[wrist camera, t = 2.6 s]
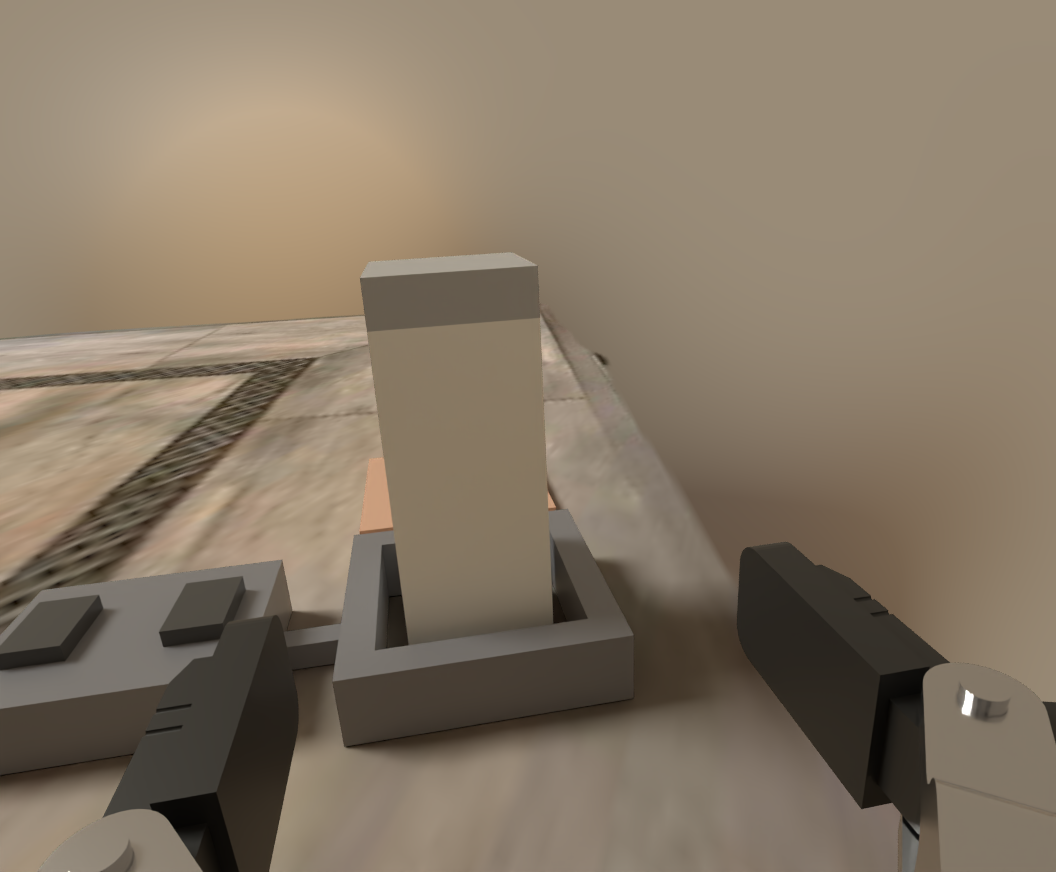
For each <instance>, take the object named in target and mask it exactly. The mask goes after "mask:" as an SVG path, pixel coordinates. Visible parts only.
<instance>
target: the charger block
mask: <svg viewBox="0 0 1056 872" xmlns="http://www.w3.org/2000/svg"><path fill="white" fill-rule="evenodd" d="M360 282H361V290H362V297H363V304H364V312H365V320H366V327H367V335H368V342H369V350H370V358H371V365H372V373H373V380H374V388H375V395H376V403H377V410H378V418H379V425H380V433H381V440H382V448H383V455H384V463H385V470H386V478H387V485H388V493H389V500H390V508H391V516H392V523H393V531H394V538H395V546H396V553H397V561H398V568H399V576H400V583H401V591H402V598H403V606H404V613H405V621H406V628H407V636H408V643H409V645H415V644H422V643H428V642H435V641H442V640H449V639H455V638H462V637H469V636H476V635H482V634H489V633H496V632H502V631H509V630H516V629H523V628H529V627H536V626H543V625H550V624H553V604H552V581H551V558H550V535H549V513H548V490H547V467H546V444H545V421H544V399H543V376H542V353H541V330H540V308H539V285H538V266H537V265H535V264H533V263H531V262H530V261H528V260H526V259H524V258H522V257H520V256H518V255H516V254H514V253H512V252H511V253H495V254H480V255H465V256H450V257H435V258H420V259H405V260H391V261H375V262H369V263H368V264H367V266H366V268H365V270H364V272H363V273H362V275H361V277H360Z"/></svg>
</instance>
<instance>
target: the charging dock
mask: <svg viewBox="0 0 1056 872" xmlns="http://www.w3.org/2000/svg"><path fill="white" fill-rule="evenodd" d="M548 513H549V535H550V558H551V581H552V583H553V586H554V589H555V591H556V594H557V596H558V599H559V602H560V604H561V607H562V609H563V612H564V615H565V617H566V620H567V622H563V623H556V624H550V625H543V626H536V627H529V628H523V629H516V630H509V631H502V632H496V633H489V634H482V635H476V636H469V637H462V638H455V639H449V640H442V641H435V642H428V643H422V644H415V645H408V646H401V647H395V648H388V649H387V633H388V607H389V597H390V596H397V595H402V591H401V583H400V576H399V568H398V561H397V553H396V546H395V538H394V531H393V530H392V531H384V532H376V533H368V534H360V535H354V539H353V546H352V553H351V560H350V566H349V573H348V580H347V586H346V593H345V600H344V607H343V613H342V620H341V624H334V625H327V626H320V627H313V628H306V629H299V630H292V631H287V627H288V624H289V620H290V616H291V613H292V606H291V601H290V596H289V591H288V586H287V581H286V576H285V571H284V566H283V561H282V560H277V561H269V562H261V563H253V564H245V565H237V566H229V567H221V568H214V569H206V570H198V571H190V572H182V573H174V574H166V575H158V576H151V577H143V578H135V579H127V580H119V581H111V582H103V583H95V584H87V585H80V586H72V587H64V588H56V589H48V590H42V591H41V592H40V593H39V594H38V595H37V596H36V597H35V598H34V599H33V600H32V601H31V603H30V604H29V605H28V606H27V607H26V608H25V609H24V610H23V611H22V612H21V613H20V615H19V616H18V617H17V618H16V619H15V620H14V621H13V622H12V623H11V624H10V625H9V626H8V628H7V629H6V630H5V631H4V632H3V633H2V634H1V635H0V775H4V774H11V773H17V772H23V771H29V770H35V769H41V768H48V767H54V766H60V765H66V764H72V763H79V762H85V761H91V760H97V759H103V758H109V757H116V756H122V755H128V754H134V753H135V751H136V749H137V747H138V745H139V743H140V741H141V739H142V737H144V736H145V735H146V732H145V731H146V729H147V727H148V725H149V723H150V720H151V718H152V716H153V714H156V708H157V706H158V704H159V702H160V700H161V698H162V696H163V694H164V692H165V690H166V688H167V686H168V684H169V683H170V682H171V681H172V680H173V679H174V678H175V677H176V676H177V675H178V674H179V673H180V672H181V671H182V670H183V669H184V668H185V667H186V666H187V665H188V664H189V663H190V662H191V661H192V660H193V659H196V658H203V657H210V656H213V654H214V651H215V649H216V647H217V644H218V642H219V640H220V637H221V635H222V632H223V630H224V628H225V626H226V624H227V623H228V622H230V621H237V620H244V619H251V618H258V617H265V616H271V615H277V616H278V617H279V618H280V621H281V623H282V627H283V631H284V636H285V641H286V645H287V650H288V654H289V659H290V664H291V668H292V670H295V669H301V668H308V667H315V666H321V665H328V664H335V667H334V674H333V680H332V682H333V688H334V693H335V699H336V704H337V710H338V715H339V720H340V726H341V731H342V737H343V742H344V747H345V746H351V745H357V744H363V743H369V742H375V741H381V740H387V739H393V738H399V737H405V736H411V735H417V734H423V733H429V732H435V731H441V730H447V729H453V728H459V727H465V726H471V725H477V724H483V723H489V722H495V721H501V720H507V719H513V718H519V717H525V716H530V715H536V714H542V713H548V712H554V711H560V710H566V709H572V708H578V707H584V706H590V705H596V704H602V703H608V702H614V701H620V700H626V699H632V698H634V634H633V632H632V630H631V629H630V627H629V625H628V623H627V621H626V619H625V617H624V615H623V613H622V611H621V609H620V608H619V606H618V604H617V602H616V600H615V598H614V596H613V594H612V592H611V590H610V588H609V587H608V585H607V583H606V581H605V579H604V577H603V575H602V573H601V571H600V569H599V567H598V566H597V564H596V562H595V560H594V558H593V556H592V554H591V552H590V550H589V548H588V546H587V545H586V543H585V541H584V539H583V537H582V535H581V533H580V531H579V529H578V527H577V526H576V524H575V522H574V520H573V518H572V516H571V514H570V512H569V510H568V509H562V510H554V511H548Z"/></svg>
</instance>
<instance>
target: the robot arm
mask: <svg viewBox="0 0 1056 872" xmlns="http://www.w3.org/2000/svg"><path fill="white" fill-rule="evenodd" d="M737 629H738V635H739V639H740V642H741V645H742V648H743V650H744V652H745V654H746V656H747V657H748V659H749V660H750V662H751V663H752V664H753V666H754V667H755V668H756V670H757V671H758V672H759V674H760V675H761V676H762V678H763V679H764V680H765V682H766V683H767V684H768V686H769V687H770V688H771V690H772V691H773V692H774V694H775V695H776V696H777V698H778V699H779V700H780V702H781V703H782V704H783V705H784V707H785V708H786V709H787V711H788V712H789V713H790V715H791V716H792V717H793V719H794V720H795V721H796V723H797V724H798V725H799V727H800V728H801V729H802V731H803V732H804V733H805V735H806V736H807V737H808V739H809V740H810V741H811V743H812V744H813V745H814V747H815V748H816V749H817V751H818V752H819V753H820V755H821V756H822V757H823V759H824V760H825V761H826V763H827V764H828V765H829V767H830V768H831V769H832V771H833V772H834V773H835V775H836V776H837V777H838V779H839V780H840V781H841V783H842V784H843V785H844V787H845V788H846V789H847V791H848V792H849V793H850V795H851V796H852V797H853V798H854V800H855V801H856V802H857V804H858V805H859V806H860V808H861V809H864V808H869V807H874V806H879V805H883V804H888V803H893V804H894V805H895V807H896V808H897V809H898V810H899V812H900V813H901V815H900V821H899V828H898V872H1056V702H1042V701H1041V700H1040V698H1039V697H1038V696H1037V695H1036V694H1035V693H1034V692H1033V691H1031V690H1030V689H1029V688H1028V687H1027V686H1025V685H1024V684H1022V683H1020V682H1019V681H1017V680H1015V679H1014V678H1012V677H1010V676H1008V675H1006V674H1003V673H1001V672H999V671H996V670H993V669H990V668H987V667H983V666H979V665H974V664H969V663H950V662H949V661H947V660H946V659H945V658H944V657H942V655H940V654H939V653H938V652H937V651H936V650H934V649H933V648H932V647H931V646H930V645H928V644H927V643H926V642H925V641H923V640H922V639H921V638H920V637H919V636H918V635H917V634H915V633H914V632H913V631H912V630H911V629H910V628H908V627H907V626H906V625H905V624H903V623H902V622H901V621H900V620H899V619H898V618H896V617H895V616H894V615H893V614H890V615H889V613H888V610H887V609H886V608H885V607H883V606H882V605H881V604H880V603H879V602H877V601H876V600H875V599H874V600H872V599H871V596H870V595H869V594H868V593H867V592H866V591H864V590H863V589H862V588H861V587H860V586H858V585H857V584H856V583H855V582H854V581H853V580H851V579H850V578H848V577H846V576H844V575H842V574H840V573H838V572H835V571H833V570H831V569H829V568H827V567H825V566H823V565H817V566H816V565H814V564H813V563H812V562H811V561H810V560H809V559H807V557H805V556H804V555H803V554H802V553H801V552H800V551H799V550H797V549H796V548H795V547H794V546H793V545H792V544H790V543H788V542H781V543H774V544H767V545H760V546H753V547H747V548H745V549H744V550H743V552H742V554H741V558H740V572H739V592H738V611H737ZM298 716H299V714H298V698H297V691H296V687H295V682H294V677H293V673H292V668H291V664H290V659H289V654H288V650H287V645H286V641H285V636H284V631H283V627H282V623H281V621H280V618H279V617H278V616H277V615H271V616H265V617H258V618H251V619H244V620H237V621H230V622H228V623H227V624H226V626H225V628H224V630H223V632H222V635H221V637H220V640H219V642H218V644H217V647H216V649H215V651H214V654H213V656H210V657H203V658H196V659H193V660H192V661H191V662H190V663H189V664H188V665H187V666H186V667H185V668H184V669H183V670H182V671H181V672H180V673H179V674H178V675H177V676H176V677H175V678H174V679H173V680H172V681H171V682H170V683H169V684H168V686H167V688H166V690H165V692H164V694H163V696H162V698H161V700H160V702H159V704H158V706H157V708H156V714H153V716H152V718H151V720H150V723H149V725H148V727H147V729H146V731H145V732H146V735H145V736H144V737H142V739H141V741H140V743H139V745H138V747H137V749H136V751H135V753H134V755H133V757H132V759H131V761H130V763H129V765H128V767H127V769H126V771H125V773H124V775H123V777H122V779H121V781H120V783H119V785H118V787H117V789H116V792H115V794H114V796H113V798H112V800H111V802H110V804H109V806H108V808H107V810H106V812H105V814H104V816H103V818H101V819H99V820H97V821H95V822H93V823H91V824H89V825H87V826H86V827H84V828H82V829H81V830H79V831H78V832H76V833H75V834H73V835H72V836H71V837H70V838H68V839H67V840H66V841H64V842H63V843H62V844H61V845H60V846H59V847H58V848H57V849H56V850H55V851H54V852H53V853H52V854H51V855H50V856H49V857H48V858H47V859H46V861H45V862H44V863H43V864H42V866H41V867H40V869H39V870H38V872H269V869H270V864H271V859H272V854H273V849H274V844H275V839H276V834H277V830H278V825H279V820H280V815H281V810H282V805H283V800H284V795H285V790H286V786H287V781H288V776H289V771H290V766H291V761H292V756H293V751H294V746H295V741H296V737H297V731H298Z"/></svg>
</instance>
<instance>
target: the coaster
mask: <svg viewBox="0 0 1056 872" xmlns="http://www.w3.org/2000/svg"><path fill="white" fill-rule="evenodd" d="M554 510H556V506H555V504H554V502H553V500H552V498H551V496H550V494H549V492H548V511H554ZM392 530H393V523H392V516H391V508H390V500H389V493H388V485H387V478H386V470H385V463H384V457H382V458H373V459H369V465H368V472H367V479H366V487H365V494H364V502H363V509H362V517H361V524H360V534H368V533H376V532H384V531H392Z"/></svg>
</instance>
